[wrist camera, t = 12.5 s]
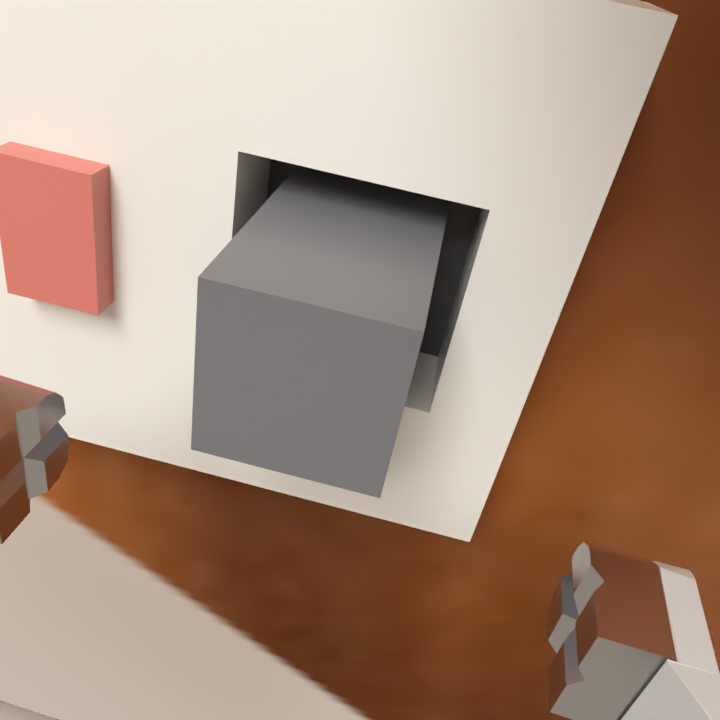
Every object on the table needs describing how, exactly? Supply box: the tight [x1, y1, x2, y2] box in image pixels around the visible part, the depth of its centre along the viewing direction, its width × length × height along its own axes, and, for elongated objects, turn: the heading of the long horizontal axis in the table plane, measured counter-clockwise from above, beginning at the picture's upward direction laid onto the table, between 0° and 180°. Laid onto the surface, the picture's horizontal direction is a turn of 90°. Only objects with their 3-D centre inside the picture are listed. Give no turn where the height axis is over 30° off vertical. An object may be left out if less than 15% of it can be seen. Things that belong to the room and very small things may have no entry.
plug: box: [191, 165, 450, 498], centre depth 15 cm, size 4×4×7 cm
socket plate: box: [0, 0, 678, 542], centre depth 17 cm, size 16×14×4 cm
